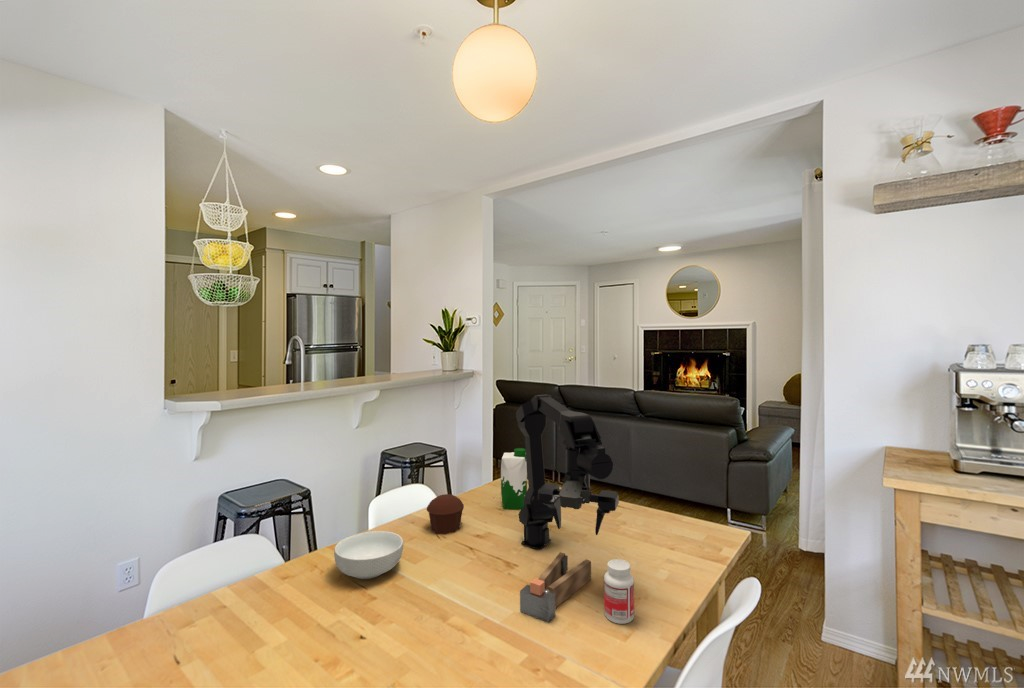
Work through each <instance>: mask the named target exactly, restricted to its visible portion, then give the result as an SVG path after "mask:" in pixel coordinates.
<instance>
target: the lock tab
mask: <svg viewBox="0 0 1024 688" xmlns="http://www.w3.org/2000/svg"><path fill="white" fill-rule="evenodd" d="M529 585H530V593H533V594H536V595H539V596H541V595H542V594H543V593H544V592H545V581H542V580H539V578H536V577H534V579H532V580H531V581H530V582H529Z"/></svg>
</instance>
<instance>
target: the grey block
mask: <svg viewBox="0 0 1024 688" xmlns="http://www.w3.org/2000/svg"><path fill="white" fill-rule="evenodd" d="M520 612H521V613H523V614H524V615H525V614H526V615H528V616H531V617H533V618H536V619H538V620H540V621H544V622H545V623H550V622H551V621H552V619H553V618H555V616H556V608H555V594H553V593H551V592H549V590H547V589H546V590H545V592H544V593H543V594H542V595H541V596H539V595H536V594H533V593H530V584H526V585H525V586H524V587H522V589H520V590H519V613H520Z"/></svg>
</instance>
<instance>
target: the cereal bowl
mask: <svg viewBox="0 0 1024 688" xmlns="http://www.w3.org/2000/svg"><path fill="white" fill-rule="evenodd" d="M403 550H404V539H403V538H402V537H401V535H399V534H397V533H395V532H392V531H387V530H374V531H373V530H371V531H365V532H360V533H356V534H353V535H351V536H348V537H345V538H343V539H342V540H339V542H337V544H336V545H335V547H334V551H333V553H334V555H333V557H334V562H335V565H336V568H338V569H337V570H339V571H340V572H341V573H342V574H345V575H346V576H349V577H352V578H353V577H354V578H357V579H360V580H369V579H374V578H378V577H379V576H381V575H382V574H384V573H387V572H388V571H391V569H393V568H394V567H395V566H396V565H397V564H398V563H399V562H400V560H401V558H402V556H403Z"/></svg>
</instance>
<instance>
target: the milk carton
mask: <svg viewBox="0 0 1024 688" xmlns="http://www.w3.org/2000/svg"><path fill="white" fill-rule="evenodd" d="M527 490H528V472H527V459H526V448H524V447H517V448H514V450H513V451H512V452H503V455H502V457H501V465H500V495H501V502H502V509H503V510H519V511H521V509H522V507H523V506H524V496H525V494H526V492H527Z"/></svg>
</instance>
